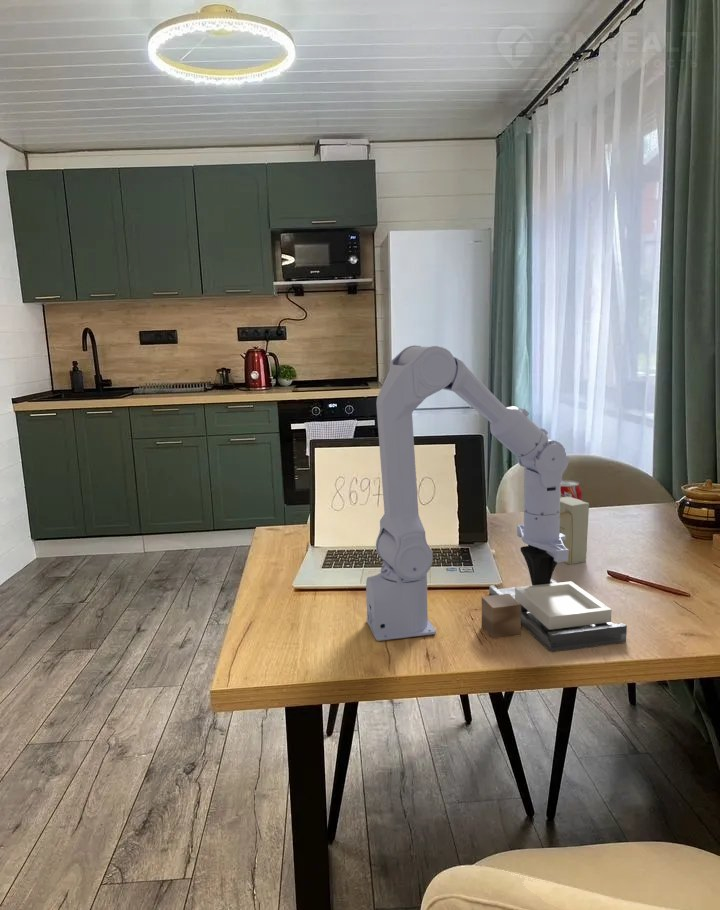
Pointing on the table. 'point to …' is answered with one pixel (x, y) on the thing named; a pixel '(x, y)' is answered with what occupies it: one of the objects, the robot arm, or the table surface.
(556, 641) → the track
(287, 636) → the table surface
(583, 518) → the skincare box
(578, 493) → the soda can
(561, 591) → the white shallow tray
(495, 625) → the walnut block
